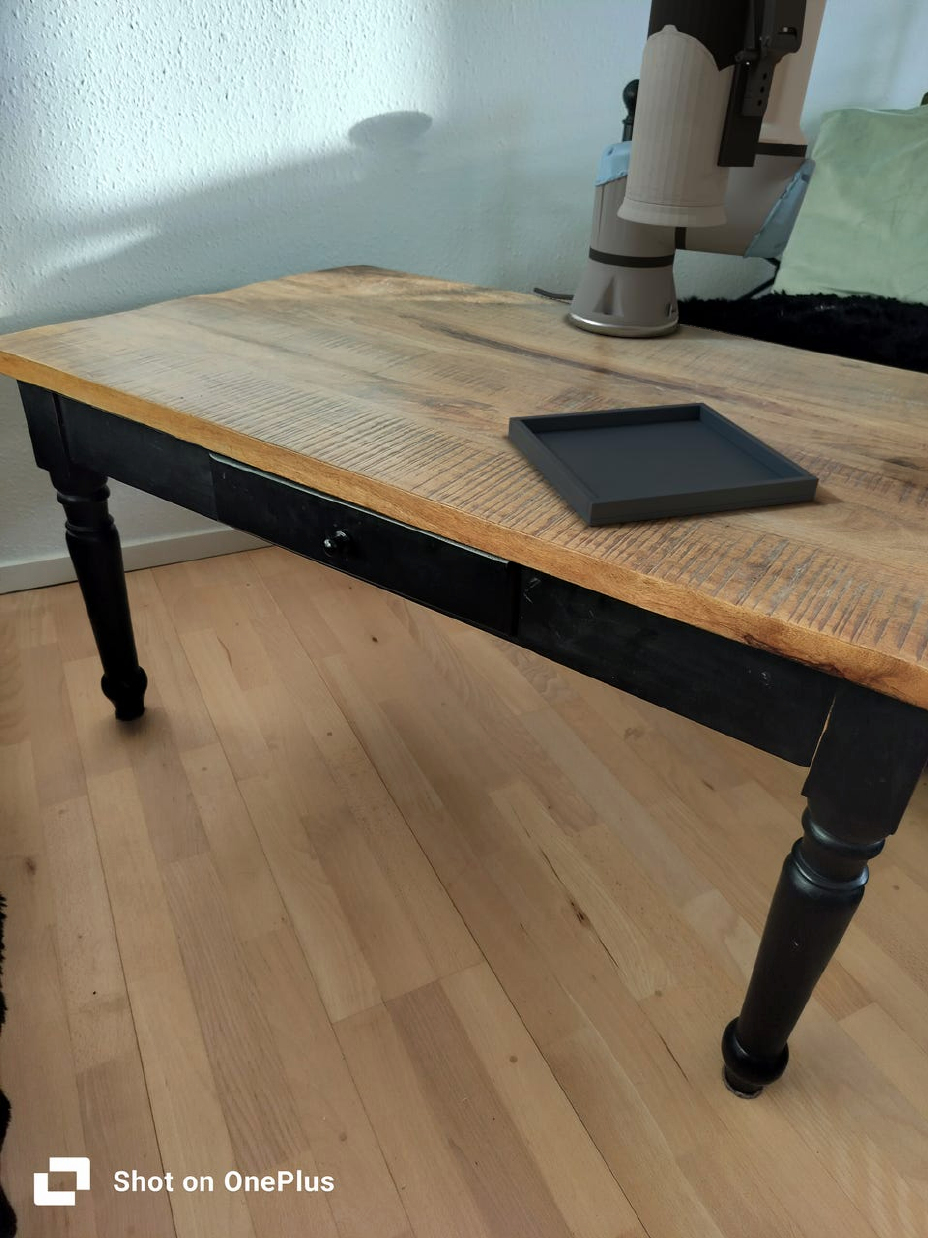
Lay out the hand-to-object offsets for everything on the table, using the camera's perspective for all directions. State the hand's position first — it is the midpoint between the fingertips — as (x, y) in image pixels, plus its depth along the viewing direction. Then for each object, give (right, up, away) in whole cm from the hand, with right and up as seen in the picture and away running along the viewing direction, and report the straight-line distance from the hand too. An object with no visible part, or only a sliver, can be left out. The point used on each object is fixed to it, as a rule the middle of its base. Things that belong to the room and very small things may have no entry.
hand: (704, 159), depth 69 cm
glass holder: (0, -3, +3) cm, 4 cm away
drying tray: (-2, -22, +12) cm, 26 cm away
